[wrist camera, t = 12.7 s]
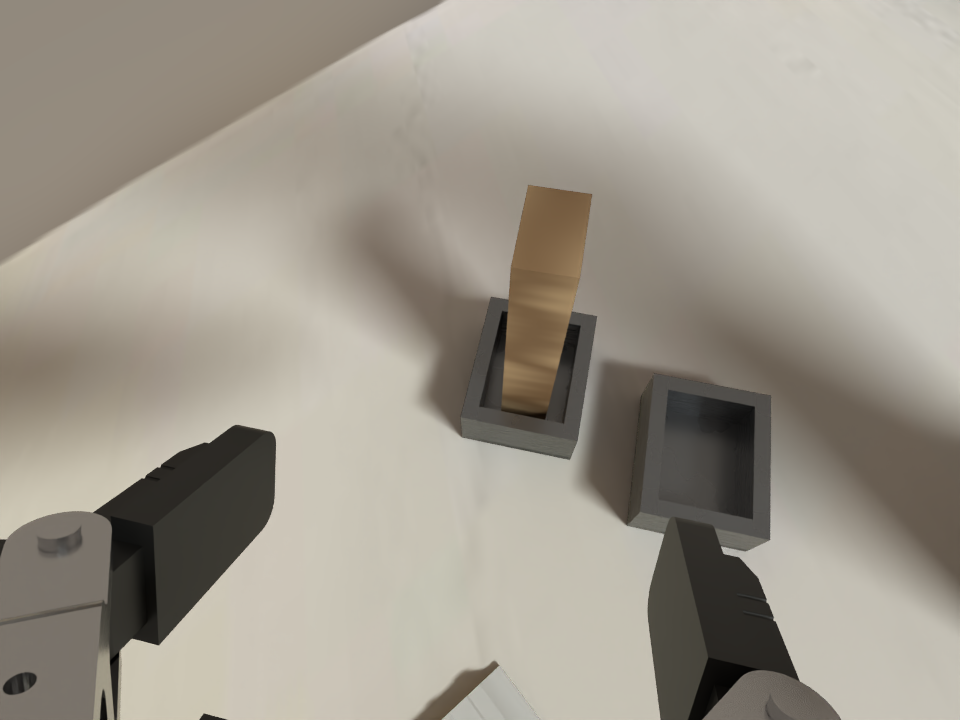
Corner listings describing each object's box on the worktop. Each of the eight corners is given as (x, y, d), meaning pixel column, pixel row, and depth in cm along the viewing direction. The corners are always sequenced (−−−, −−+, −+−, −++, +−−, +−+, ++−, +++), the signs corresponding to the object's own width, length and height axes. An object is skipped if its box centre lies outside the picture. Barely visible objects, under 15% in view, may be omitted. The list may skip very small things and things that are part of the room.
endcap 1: (588, 342, 37) (596, 316, 34) (569, 459, 34) (577, 441, 31) (490, 323, 38) (491, 296, 35) (462, 437, 34) (460, 417, 32)
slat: (554, 360, 36) (591, 194, 24) (544, 421, 34) (579, 278, 22) (512, 352, 36) (528, 185, 24) (500, 414, 35) (510, 267, 22)
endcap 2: (748, 417, 35) (770, 395, 32) (745, 551, 31) (770, 540, 29) (641, 396, 36) (654, 373, 33) (627, 525, 32) (640, 512, 29)
